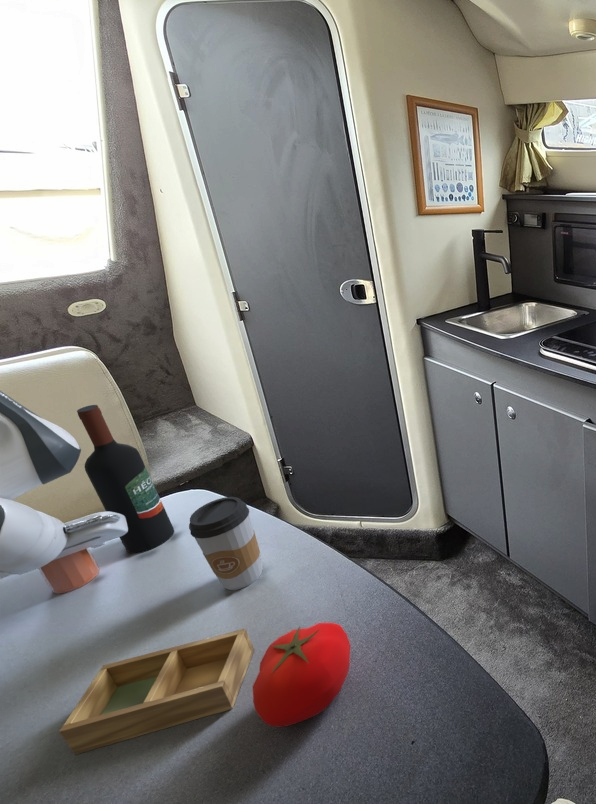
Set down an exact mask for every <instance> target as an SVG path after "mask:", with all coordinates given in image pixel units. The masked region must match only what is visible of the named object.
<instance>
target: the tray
mask: <svg viewBox="0 0 596 804" xmlns="http://www.w3.org/2000/svg"><path fill="white" fill-rule="evenodd" d="M254 653H255V648H254V645H253V643H252V641H251V639H250V635H249V633H248V631H247V629H246V628H242V629H238V630H235V631H231V632H226V633H223V634H218V635H215V636H212V637H208V638H203V639H200V640H196V641H192V642H188V643H184V644H180V645H176V646H173V647H169V648H164V649H160V650H156V651H153V652H148V653H145V654H142V655H137V656H133V657H129V658H126V659H121V660H118V661H114V662H110V663H106V664H103V665H102V667H101V668H100V670H99V671H98V673H97V674H96V675H95V677H94V678H93V680H92V681H91V683H90V685H89V686H88V687H87V689H86V691H85V692H84V693H83V695H82V697H81V698H80V700H79V701H78V703H77V704H76V706H75V707H74V709H73V710H72V712H71V713H70V715H69V716H68V717H67V719H66V720H65V722H64V723H63V725H62V726H61V728H60V729H59V731H58V732H59V734H60V735H61V737H62V739H63V740H64V741H65V743H66V744H67V746H68V747H69V748H70V750H71V751H72V752H73V754H74V755H79V754H83V753H85V752H89V751H93V750H96V749H100V748H102V747H106V746H109V745H113V744H116V743H121V742H123V741H126V740H127V741H128V740H131V739H134V738H137V737H141V736H144V735H147V734H151V733H154V732H157V731H161V730H164V729H167V728H171V727H175V726H178V725H181V724H185V723H188V722H192V721H195V720H198V719H202V718H206V717H208V716H212V715H216V714H219V713H223V712H226V711H229V710H232V709H234V706H235V703H236V701H237V698H238V695H239V692H240V690H241V687H242V684H243V682H244V680H245V676H246V674H247V672H248V668H249V666H250V663H251V661H252V658H253V656H254Z"/></svg>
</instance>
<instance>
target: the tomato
mask: <svg viewBox="0 0 596 804" xmlns="http://www.w3.org/2000/svg"><path fill="white" fill-rule="evenodd" d="M350 657H351V642H350V640H349V637H348V634H347V632H345V630H344V628H343V627H342V625H340V624H339V623H336V622H318V623H316V624H314V625H312V626H309V627H305V628H301V627H300V625H299V626H298V628H296V629H295V628H294V629H293V630H290V631H289V632H286V633H285V634H282V635H281V636H279V637H278V638H277V639H275V640H274V641H273V642H272V643H271V644H270V645H268V647H267V649H266V650H265V653H264V654H263V656H262V658H261V660H260V663H259V670H258V673H257V676H256V678H255V680H254V682H253V685H252V700H253V701H252V702H253V707H254V710H255V712H256V713H257V715H258V716H259V717H260V719H261V720H262V721H263V722H264V723H265V724H266V725H268V726H270V727H277V728H278V727H280V728H283V727H287V726H291V725H292V726H293V725H295V724H297V723H298V724H299V723H300V722H303V721H307V720H308V719H311V718H313V717H316V716H317V715H319V714H320V713H321V712H323V711H324V710H326V709H327V708H328V707H329V706H330V705H331V703H332V702H333V701H334V699H335V698H336V697H337V696H338V695H339V694H340V692H341V690H342V687H343V685H344V683H345V681H346V679H347V677H348V674H349V668H350V661H351V660H350V659H351V658H350Z"/></svg>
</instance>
